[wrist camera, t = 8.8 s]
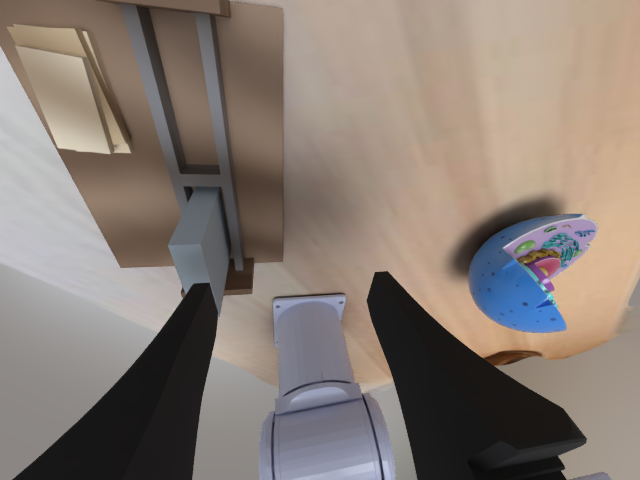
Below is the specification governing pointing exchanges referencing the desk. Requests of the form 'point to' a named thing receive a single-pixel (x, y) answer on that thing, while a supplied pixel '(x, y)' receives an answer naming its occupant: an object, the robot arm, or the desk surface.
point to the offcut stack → (72, 88)
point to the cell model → (528, 270)
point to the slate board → (202, 242)
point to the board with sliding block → (178, 121)
